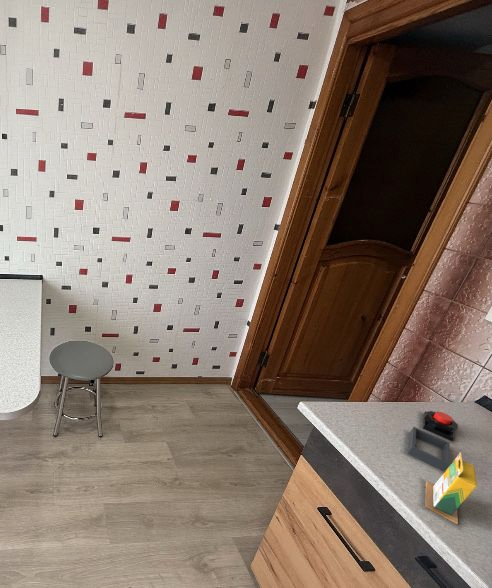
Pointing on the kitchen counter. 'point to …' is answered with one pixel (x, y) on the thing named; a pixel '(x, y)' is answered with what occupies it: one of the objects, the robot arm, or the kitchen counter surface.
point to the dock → (426, 457)
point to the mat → (430, 506)
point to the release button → (443, 418)
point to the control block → (438, 426)
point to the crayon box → (454, 486)
